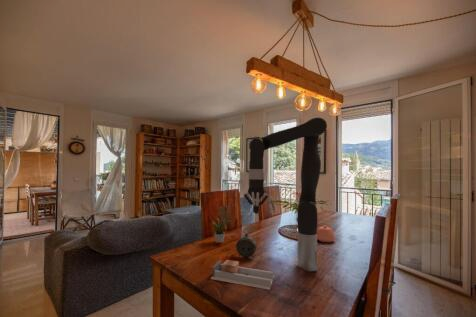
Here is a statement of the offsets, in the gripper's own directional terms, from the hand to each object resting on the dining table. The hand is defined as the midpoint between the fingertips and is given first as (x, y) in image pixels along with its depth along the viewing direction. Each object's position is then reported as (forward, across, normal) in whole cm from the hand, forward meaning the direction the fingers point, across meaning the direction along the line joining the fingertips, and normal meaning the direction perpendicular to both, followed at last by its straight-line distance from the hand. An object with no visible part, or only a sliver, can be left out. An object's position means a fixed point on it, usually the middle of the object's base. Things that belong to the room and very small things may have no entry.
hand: (256, 213), depth 109 cm
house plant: (+27, +31, -30) cm, 51 cm away
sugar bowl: (+27, -34, -57) cm, 72 cm away
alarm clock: (+27, +8, -10) cm, 30 cm away
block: (+26, +9, +12) cm, 30 cm away
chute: (+27, +3, +12) cm, 30 cm away
